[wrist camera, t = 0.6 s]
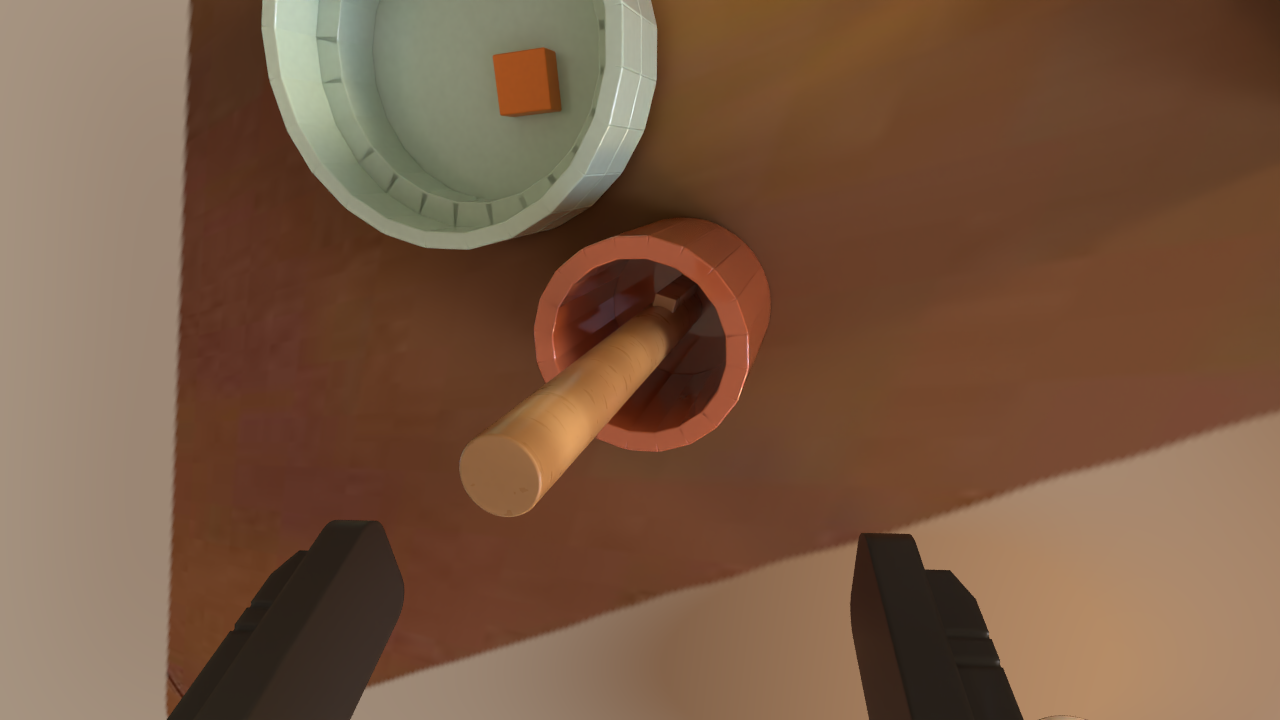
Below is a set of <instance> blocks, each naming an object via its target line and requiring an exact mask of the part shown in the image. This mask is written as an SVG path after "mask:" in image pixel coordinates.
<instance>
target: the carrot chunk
mask: <svg viewBox="0 0 1280 720" xmlns="http://www.w3.org/2000/svg"><path fill="white" fill-rule="evenodd" d="M493 64H494V72H495V79H496V87H497V95H498V102H499V110H500V115H502V116H508V117H518V116H527V115H535V114H543V113H551V112H560V111H561V110H562V108H561V99H560V90H559V80H558V71H557V62H556V53H555V51H552V50H550V49H547V48H544V47H541V48H535V49H528V50H522V51H515V52H508V53H502V54H495V55H493Z"/></svg>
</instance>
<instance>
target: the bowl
mask: <svg viewBox="0 0 1280 720" xmlns="http://www.w3.org/2000/svg"><path fill="white" fill-rule="evenodd" d="M261 25H262V27H261V29H262V36H263V43H264V50H265V56H266V63H267V70H268V77H269V80H270V84H271V87H272V90H273V93H274V95H275V98H276V101H277V104H278V107H279V110H280V112H281V115H282V118H283V121H284V124H285V127H286V129H287V132H288V133H289V135H290V137H291V138H292V140H293V142H294V143H295V145H296V147H297V148H298V150H299V152H300V154H301V155H302V157H303V159H304V160H305V162H306V164H307V165H308V167H309V169H310V170H311V172H312V173H313V174H314V175H315V176H316V177H317V178H318V179H319V180H320V182H321V183H322V184H323V185H324V186H325V187H326V188H327V189H328V190H329V191H330V192H331V193H332V194H333V195H334V197H335V198H336V199H337V200H338V201H339V202H340V203H341V204H342V205H343V206H344V207H345V208H346V209H347V210H349V211H350V212H352V213H353V214H355V215H356V216H358V217H359V218H361V219H362V220H364V221H365V222H367V223H368V224H370V225H371V226H373V227H374V228H376V229H377V230H379V231H380V232H382V233H384V234H386V235H388V236H391V237H394V238H397V239H400V240H403V241H406V242H409V243H412V244H415V245H418V246H421V247H424V248H425V247H426V248H436V249H460V250H469V249H474V248H479V247H483V246H487V245H491V244H495V243H499V242H503V241H507V240H511V239H516V238H520V237H523V236H527V235H531V234H535V233H539V232H542V231H546V230H550V229H554V228H556V227H559V226H560V225H562V224H564V223H565V222H567V221H568V220H570V219H572V218H573V217H575V216H577V215H578V214H580V213H581V212H583V211H585V210H586V209H588V208H590V207H591V206H592V205H593V204H594V203H595V202H596V201H597V200H598V199H599V198H600V197H601V196H602V195H603V193H604V192H605V191H606V190H607V189H608V188H609V187H610V186H611V185H612V184H613V183H614V181H615V180H616V179H617V178H618V177H619V176H620V175H621V173H622V172H623V171H624V169H625V167H626V165H627V163H628V161H629V159H630V157H631V155H632V153H633V152H634V150H635V148H636V146H637V144H638V142H639V140H640V138H641V136H642V134H643V132H644V130H645V126H646V122H647V118H648V114H649V110H650V106H651V102H652V98H653V94H654V90H655V86H656V80H657V25H656V20H655V16H654V12H653V7H652V3H651V0H262V20H261ZM541 47H544V48H547V49H550V50H552V51H555V53H556V62H557V71H558V80H559V90H560V99H561V108H562V110H561V111H560V112H551V113H543V114H535V115H527V116H518V117H508V116H502V115H500V110H499V102H498V95H497V87H496V79H495V72H494V64H493V55H495V54H502V53H508V52H515V51H522V50H528V49H535V48H541Z"/></svg>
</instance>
